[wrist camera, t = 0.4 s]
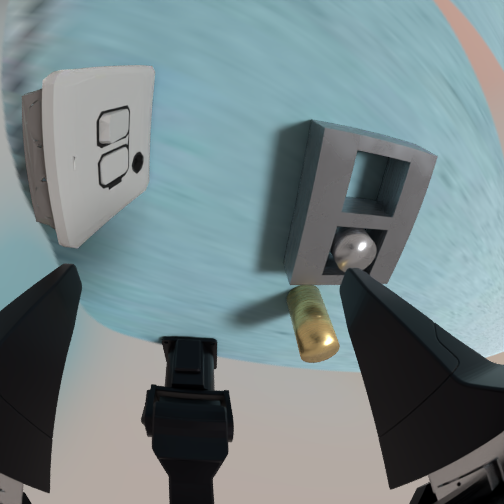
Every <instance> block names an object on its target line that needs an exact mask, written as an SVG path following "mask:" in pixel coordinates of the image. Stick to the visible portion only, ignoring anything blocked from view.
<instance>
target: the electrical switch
mask: <svg viewBox="0 0 504 504" xmlns="http://www.w3.org/2000/svg"><path fill="white" fill-rule="evenodd" d="M154 80H155V70H154V68H153V67H152V66H144V65H128V66H104V67H91V68H81V69H72V70H71V69H68V70H59V71H55V72H52V73H51V74H50V75H48V76H47V77H46V78H45V79H44V80H43V85H42V89H40V90H37V91H33V92H30V93H31V94H30V93H27V94H28V95H24V96H22V123H23V139H24V151H25V160H26V168H27V175H28V181H29V187H30V193H31V198H32V204H33V208H34V213H35V217H36V221H37V222H40V223H43V224H47V225H50V226H51V227H52V228H54V229H56V233H57V237H58V241H59V244H60V245H62V246H64V247H71V248H79V247H80V246H81V245H82V244H83V243H84V242H85V241H86V240H87V239H88V238H89V237H91V236H92V235H93V234H94V233H95V232H96V231H97V230H98V229H99V228H101V227H102V226H103V225H104V224H105V223H106V222H108V221H109V220H110V219H111V218H112V217H113V216H115V215H116V214H117V213H118V212H119V211H121V210H122V209H123V208H124V207H125V206H127V205H128V204H129V203H130V202H132V201H133V200H134V199H135V198H137V197H138V196H139V195H140V194H142V193H143V192H144V191H146V188H147V186H148V183H149V158H150V131H151V115H152V101H153V90H154ZM32 104H33V105H32ZM31 105H32V106H31ZM26 123H27V124H26ZM35 140H38V141H35ZM38 146H42V147H38ZM43 178H45V179H46V180H47V181H42V179H43ZM37 205H38V206H37Z"/></svg>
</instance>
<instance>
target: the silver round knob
mask: <svg viewBox="0 0 504 504" xmlns="http://www.w3.org/2000/svg"><path fill="white" fill-rule="evenodd" d="M330 252H331V254H332V256H333V258H334V259H335V261H336V263H337V265H338V267H339V269H340V270H342V271H343V272H346V270H347V269H348V268H359V269H361V270H363V269H365V268H366V267H368V266H369V265H370V264H371V262H372V261H373V260H374V258H375V255H376V245H375V243H374V242H373V240H372V239H371V238H370V236H369V235H368V234H367V232H366V231H365V230H364V228H356V227H342V226H337V229H336V232H335V235H334V239H333V242H332V245H331V248H330Z"/></svg>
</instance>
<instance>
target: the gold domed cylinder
mask: <svg viewBox="0 0 504 504" xmlns="http://www.w3.org/2000/svg"><path fill="white" fill-rule="evenodd" d="M286 301H287V305H288V309H289V313H290V317H291V320H292V324H293V328H294V332H295V336H296V340H297V344H298V348H299V352H300V356H301V359H302V360H303V361H305V362H309V363H316V362H321V361H324V360H327V359H329V358H330V357H332V356H333V355H335V354H336V353H337V352H338V350H339V347H340V346H339V342H338V340H337V337H336V334H335V331H334V329H333V326H332V323H331V320H330V318H329V315H328V312H327V310H326V307H325V304H324V302H323V299H322V296H321V294H320V291H319V289H318V288H317V287H316V286H314V285H300V286H298V287H296V288H294V289H292V290H291V291H290V292H289V294H288V295H287V299H286Z"/></svg>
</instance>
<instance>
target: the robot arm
mask: <svg viewBox="0 0 504 504" xmlns="http://www.w3.org/2000/svg"><path fill="white" fill-rule="evenodd" d="M81 291H82V283H81V280H80V277H79V274H78V271H77V268H76V266H75V265H74V264H62V265H61V266H60V267H58V268H57V269H55V270H54V271H52V272H51V273H50V274H48V275H47V276H45V277H44V278H43V279H41V280H40V281H39V282H37V283H36V284H34V285H33V286H32V287H31V288H29V289H28V290H27V291H25V292H24V293H23V294H21V295H20V296H19V297H17V298H16V299H15V300H14V301H12V302H11V303H10V304H8V305H7V306H6V307H5V308H4V309H2V310H1V311H0V504H31V502H30V500H29V499H28V497H27V496H26V494H25V493H24V492H23V484H26V485H28V486H31V487H33V488H36V489H38V490H41V491H44V492H47V493H50V468H51V451H52V438H53V429H54V421H55V414H56V407H57V401H58V395H59V390H60V384H61V380H62V375H63V370H64V366H65V361H66V357H67V352H68V349H69V345H70V341H71V337H72V334H73V330H74V325H75V320H76V315H77V310H78V305H79V300H80V296H81ZM340 296H341V300H342V305H343V309H344V314H345V319H346V324H347V328H348V332H349V335H350V338H351V342H352V345H353V348H354V351H355V354H356V357H357V361H358V364H359V367H360V371H361V374H362V377H363V381H364V384H365V388H366V391H367V395H368V399H369V402H370V406H371V410H372V414H373V417H374V421H375V425H376V429H377V433H378V437H379V442H380V447H381V451H382V455H383V460H384V464H385V469H386V473H387V479H388V484H389V488H390V489H394V488H397V487H400V486H402V485H405V484H407V483H410V482H412V481H415V480H417V479H420V478H422V477H424V476H427V475H428V477H429V480H430V482H428V483H426V484H424V485H422V486H421V487H419V488H417V489H416V491H415V493H414V495H413V497H412V500H411V501H410V504H504V365H500V364H496V363H493V362H491V361H489V360H487V359H486V358H484V357H483V356H481V355H480V354H479V353H477V352H476V351H474V350H473V349H471V348H470V347H468V346H467V345H465V344H464V343H462V342H461V341H459V340H458V339H457V338H455V337H454V336H452V335H451V334H450V333H448V332H447V331H445V330H444V329H443V328H441V327H440V326H439V325H438V324H436V323H434V322H433V321H432V320H431V319H430V318H428V317H427V316H425V315H424V314H423V313H421V312H420V311H419V310H417V309H416V308H415V307H413V306H412V305H411V304H409V303H408V302H406V301H405V300H404V299H402V298H401V297H399V296H398V295H397V294H395V293H394V292H392V291H391V290H390V289H388V288H387V287H385V286H384V285H383V284H381V283H380V282H378V281H377V280H375V279H374V278H373V277H371V276H370V275H368V274H367V273H365V272H364V271H363V270H361V269H359V268H348V269H347V270H346V272H345V274H344V277H343V280H342V283H341V285H340ZM162 345H163V349H164V353H165V357H166V362H167V367H166V379H165V387H164V386H156V385H153V384H152V385H151V389H150V390H147V394H146V402H145V407H144V410H143V414H142V418H141V422H142V424H144V426H145V429H146V431H147V436H148V437H152V449H153V451H154V453H155V455H156V456H157V458H158V459H159V461H160V463H161V465H162V466H163V468H164V469H165V471H166V473H167V474H168V476H169V499H170V504H214V495H213V477H214V476H215V474H216V473H217V471H218V470H219V468H220V466H221V465H222V463H223V462H224V460H225V458H226V456H227V455H228V442H232V440H233V432H234V425H233V415H232V409H231V403H230V396H229V390H224V391H214V369H216V368H217V340H215V339H196V338H171V337H164V338H162Z"/></svg>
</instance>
